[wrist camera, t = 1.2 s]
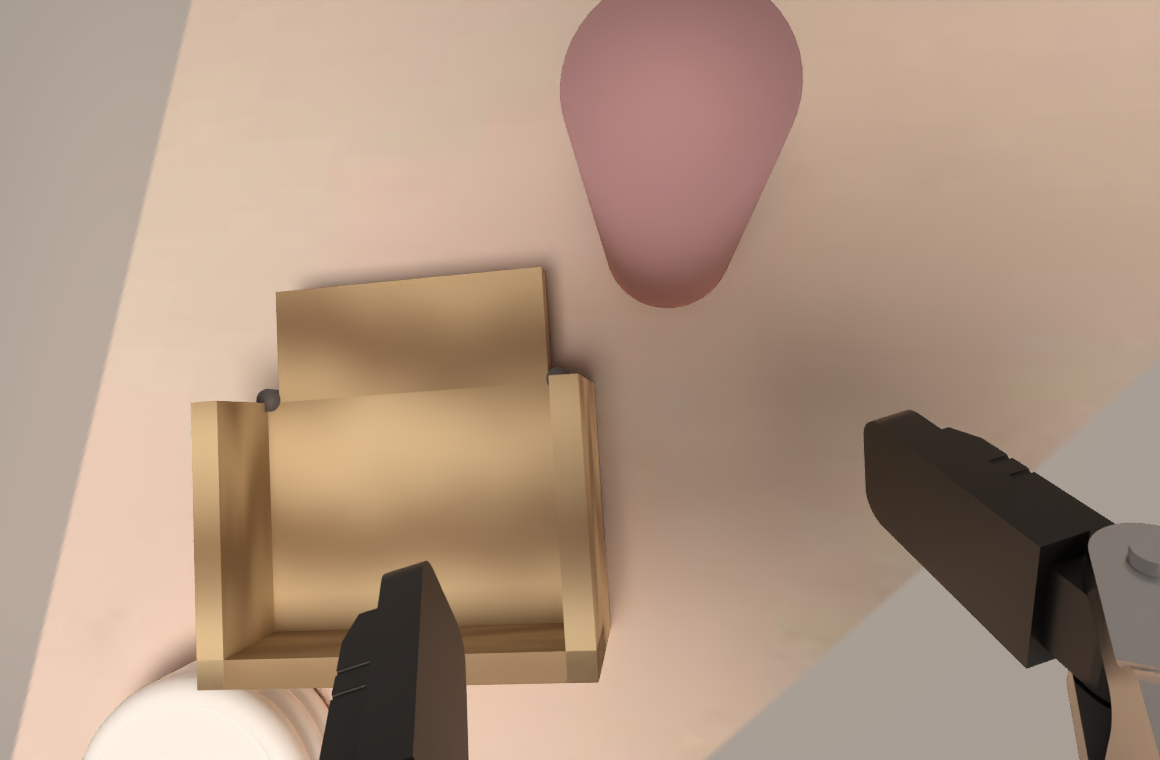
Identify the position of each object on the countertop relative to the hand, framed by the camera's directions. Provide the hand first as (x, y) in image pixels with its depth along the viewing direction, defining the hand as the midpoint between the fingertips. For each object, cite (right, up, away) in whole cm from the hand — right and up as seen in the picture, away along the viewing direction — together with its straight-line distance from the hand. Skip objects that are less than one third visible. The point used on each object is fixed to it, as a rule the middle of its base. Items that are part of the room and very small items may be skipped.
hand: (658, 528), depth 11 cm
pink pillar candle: (+2, +8, +15) cm, 18 cm away
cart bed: (-8, -1, +16) cm, 18 cm away
